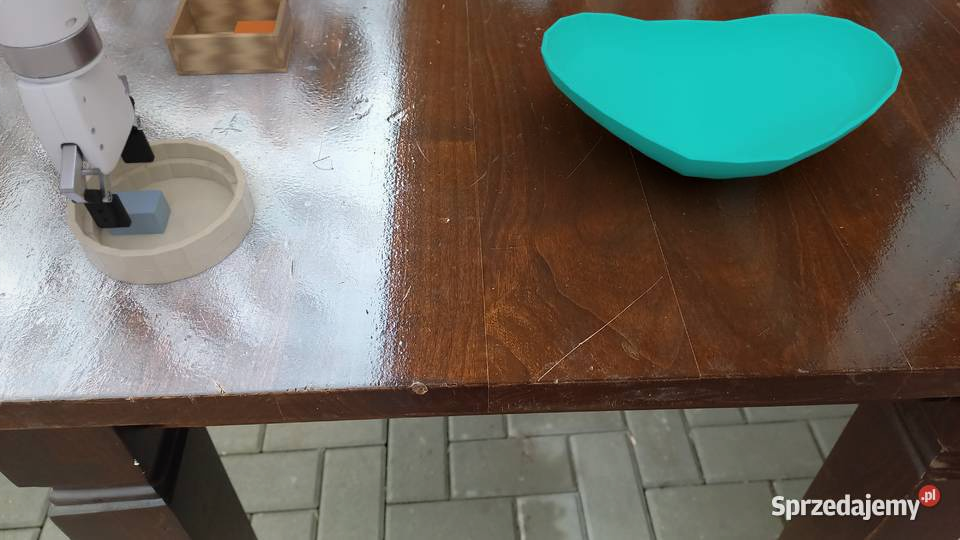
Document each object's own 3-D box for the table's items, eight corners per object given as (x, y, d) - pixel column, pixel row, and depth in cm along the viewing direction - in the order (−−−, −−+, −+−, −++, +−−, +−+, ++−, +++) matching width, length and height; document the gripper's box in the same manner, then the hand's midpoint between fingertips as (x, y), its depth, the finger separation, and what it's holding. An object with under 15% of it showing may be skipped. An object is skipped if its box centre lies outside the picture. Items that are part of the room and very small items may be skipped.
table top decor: (540, 223, 77) (552, 127, 67) (524, 78, 95) (532, -15, 85) (890, 221, 78) (953, 127, 68) (809, 79, 96) (850, -13, 86)
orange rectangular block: (239, 55, 96) (233, 34, 94) (242, 41, 99) (237, 21, 96) (279, 54, 97) (274, 33, 94) (282, 40, 99) (277, 20, 96)
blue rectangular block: (111, 235, 74) (99, 214, 72) (120, 212, 76) (108, 191, 74) (164, 233, 74) (154, 212, 72) (171, 210, 77) (161, 189, 74)
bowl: (64, 292, 70) (41, 259, 66) (112, 174, 81) (94, 141, 77) (242, 284, 71) (229, 251, 67) (264, 169, 82) (254, 135, 78)
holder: (178, 75, 94) (164, 38, 90) (193, 33, 101) (181, -4, 97) (286, 72, 95) (278, 35, 91) (294, 30, 102) (287, -6, 97)
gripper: (40, -6, 64) (114, 140, 77) (-37, 107, 53) (65, 256, 66) (123, -9, 64) (182, 137, 77) (64, 103, 53) (145, 252, 66)
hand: (128, 192), depth 72 cm, fingers open, 9 cm apart
